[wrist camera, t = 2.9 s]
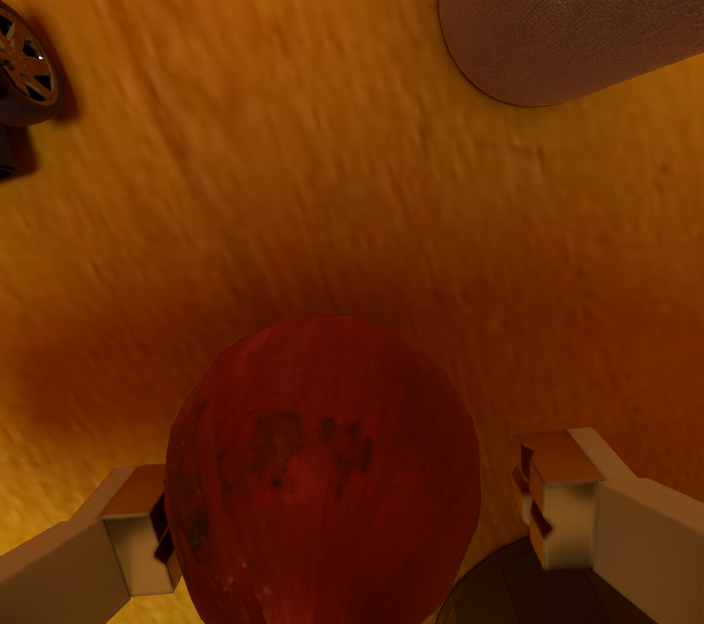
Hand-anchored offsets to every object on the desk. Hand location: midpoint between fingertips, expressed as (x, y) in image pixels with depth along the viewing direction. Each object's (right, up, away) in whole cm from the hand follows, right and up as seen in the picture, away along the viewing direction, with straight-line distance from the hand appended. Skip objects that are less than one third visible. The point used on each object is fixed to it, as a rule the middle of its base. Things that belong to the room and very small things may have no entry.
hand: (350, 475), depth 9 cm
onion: (0, +2, +3) cm, 3 cm away
